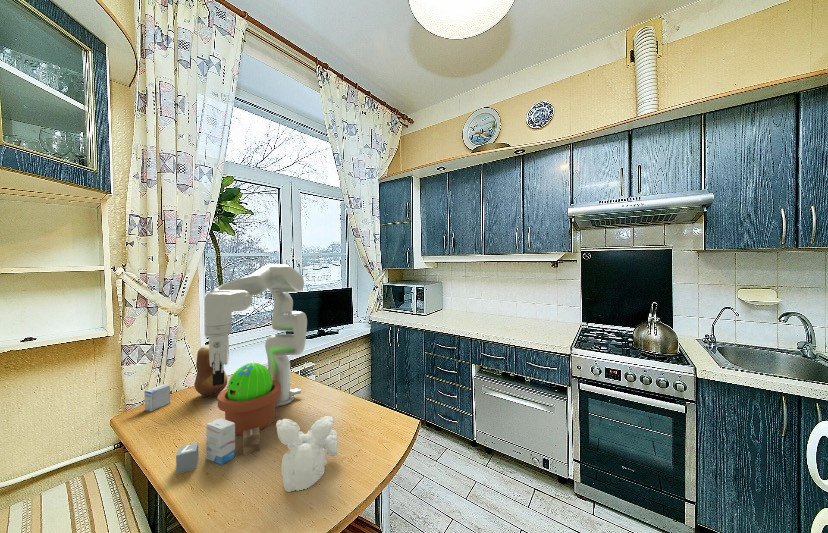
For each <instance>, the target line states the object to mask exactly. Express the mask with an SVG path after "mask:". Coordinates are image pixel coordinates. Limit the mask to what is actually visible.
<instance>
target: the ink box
mask: <svg viewBox="0 0 828 533" xmlns="http://www.w3.org/2000/svg"><path fill="white" fill-rule="evenodd" d="M205 428H206V437H205V438H206V441H205V442H206V443H205V444H206V447H205V449H206V452H205V453H206V456H205V457H206V459H207V460H209V461H211V462H213V463H216V464H218V465H220V466H223V465H224V464H226V463H227V462H228V461H231V460H232V459H234V458H235V457H236V435H235V423H233V422H231V421H228V420H225V419H224V418H222V417H219V418H217V419H214V420H212V421H210V422H207V423H206V426H205Z"/></svg>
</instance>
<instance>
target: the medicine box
mask: <svg viewBox="0 0 828 533" xmlns="http://www.w3.org/2000/svg"><path fill="white" fill-rule="evenodd" d="M170 403H171V385H169V384H164V383H163V384H160V385H157V386H155V387H153V388H150V389H146V390H145V391H144V410H145V411H149V412H153V411H155V410H157V409H159V408H162V407H164V406H166V405H168V404H170Z"/></svg>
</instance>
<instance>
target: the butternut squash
mask: <svg viewBox="0 0 828 533" xmlns="http://www.w3.org/2000/svg"><path fill="white" fill-rule="evenodd" d="M195 367H196V376H195V380H194V389H195V391H196V392H197V393H198V394H199V395H201V396H202V397H204V398H206V399H210V398H212V397H213V398H214V396H216V395H219V394H220V393H221V392H222V391H224V390H225V388H227V386H228V375H227V373H226V371H225V370H224V384H222V385H216V386H213V366H212V367H211V366H210V360H209V344H205V345H203V346H201V347H200V348H199V349H198V350H197V354H196V363H195Z"/></svg>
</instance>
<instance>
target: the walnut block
mask: <svg viewBox="0 0 828 533" xmlns="http://www.w3.org/2000/svg"><path fill="white" fill-rule="evenodd" d="M260 435H261V434H260V430H259V427H257V428H253V429H249V430H245V431H243V435H242V452H243V454H242V455H243V456H246V455H249V454H252V453H257V452H260V450H261V448H260V446H261V444H260V442H261V441H260V440H261V439H260V438H261V436H260Z"/></svg>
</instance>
